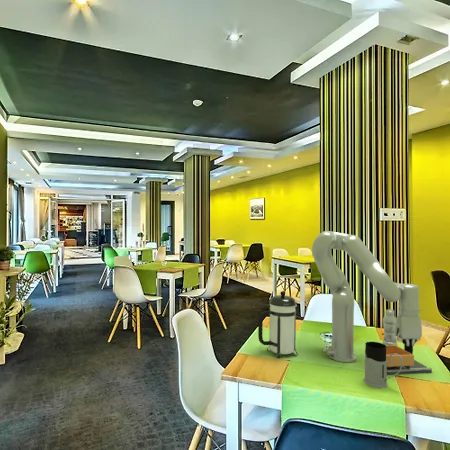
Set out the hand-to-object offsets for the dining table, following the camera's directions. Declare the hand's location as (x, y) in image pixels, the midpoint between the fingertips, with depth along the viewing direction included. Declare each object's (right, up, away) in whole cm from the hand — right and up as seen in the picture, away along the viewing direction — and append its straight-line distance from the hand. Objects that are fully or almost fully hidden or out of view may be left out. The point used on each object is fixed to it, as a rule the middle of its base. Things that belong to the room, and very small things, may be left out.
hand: (408, 354), depth 146 cm
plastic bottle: (+1, -6, +19) cm, 20 cm away
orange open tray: (-8, -4, -1) cm, 9 cm away
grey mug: (-20, -6, -17) cm, 27 cm away
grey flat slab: (-4, -6, 0) cm, 7 cm away
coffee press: (-54, -5, +13) cm, 56 cm away
